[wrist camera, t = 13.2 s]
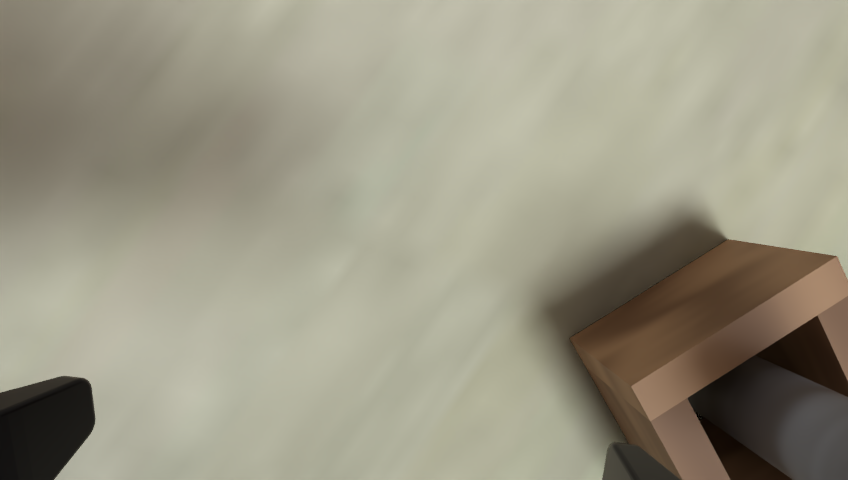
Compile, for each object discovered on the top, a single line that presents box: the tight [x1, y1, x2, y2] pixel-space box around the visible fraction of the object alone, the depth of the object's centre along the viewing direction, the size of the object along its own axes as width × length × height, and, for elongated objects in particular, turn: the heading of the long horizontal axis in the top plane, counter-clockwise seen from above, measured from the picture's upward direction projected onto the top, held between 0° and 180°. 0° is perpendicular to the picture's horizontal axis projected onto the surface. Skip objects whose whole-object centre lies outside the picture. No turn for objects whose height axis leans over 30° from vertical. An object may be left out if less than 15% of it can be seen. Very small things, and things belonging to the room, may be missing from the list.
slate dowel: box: [687, 355, 848, 480], centre depth 15 cm, size 3×3×13 cm
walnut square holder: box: [570, 239, 848, 480], centre depth 19 cm, size 8×8×5 cm
